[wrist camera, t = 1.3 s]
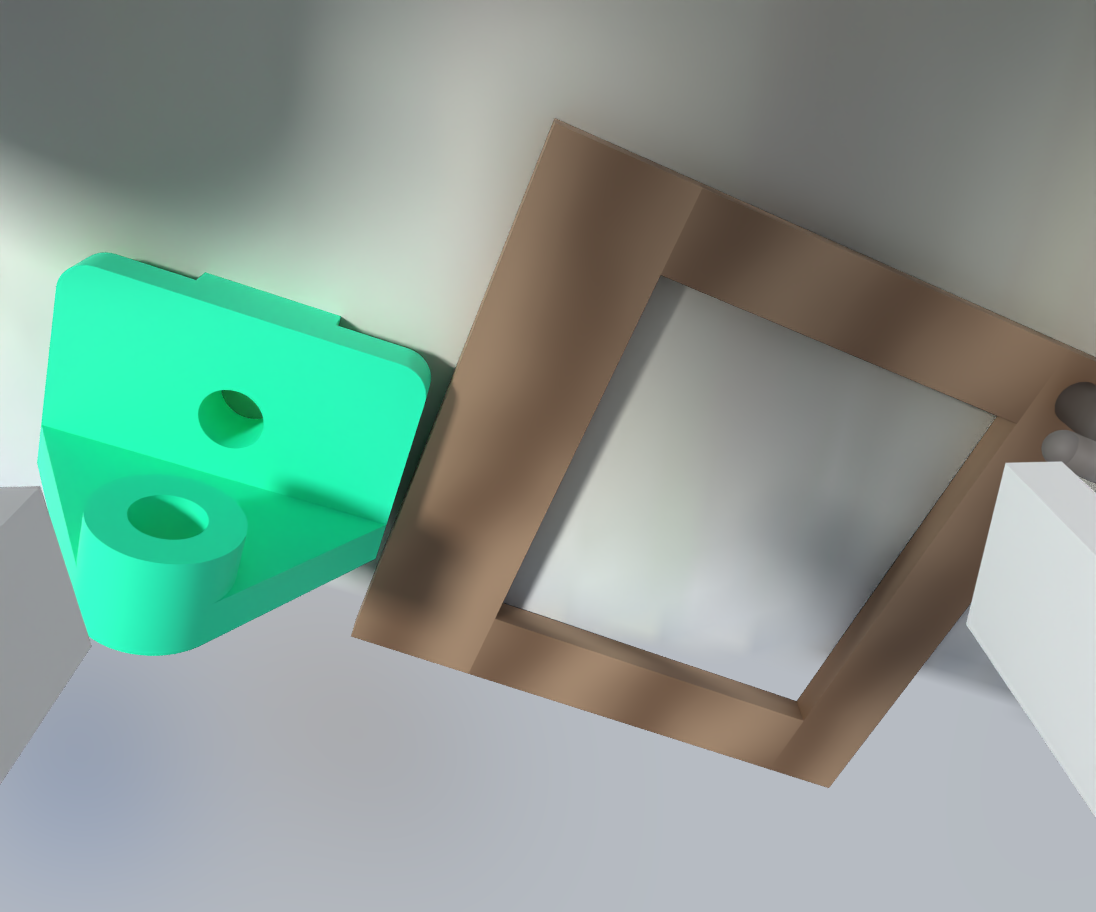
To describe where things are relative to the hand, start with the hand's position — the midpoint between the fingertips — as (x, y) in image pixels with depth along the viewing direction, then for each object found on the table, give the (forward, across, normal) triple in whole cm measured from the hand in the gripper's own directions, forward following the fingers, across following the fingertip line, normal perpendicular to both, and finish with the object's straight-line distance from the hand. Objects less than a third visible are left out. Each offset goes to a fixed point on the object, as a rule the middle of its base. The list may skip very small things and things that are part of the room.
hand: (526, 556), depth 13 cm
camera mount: (+20, -10, -6) cm, 23 cm away
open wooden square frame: (+19, +7, -11) cm, 23 cm away
